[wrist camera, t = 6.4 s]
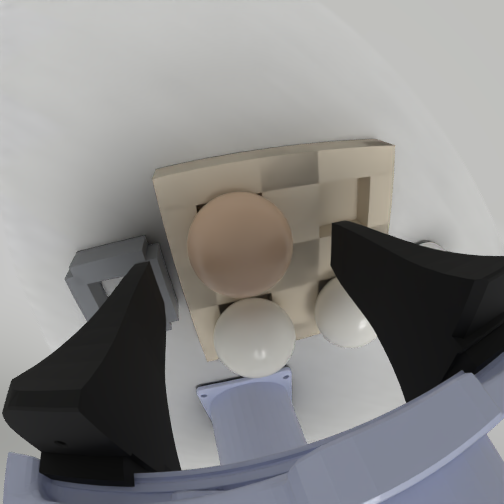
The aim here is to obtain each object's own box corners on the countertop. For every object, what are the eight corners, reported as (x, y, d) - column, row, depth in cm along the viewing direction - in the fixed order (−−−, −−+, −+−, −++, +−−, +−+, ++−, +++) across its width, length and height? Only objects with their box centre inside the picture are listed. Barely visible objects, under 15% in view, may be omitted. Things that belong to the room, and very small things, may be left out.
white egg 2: (361, 305, 19) (393, 348, 16) (303, 322, 19) (329, 373, 15) (368, 252, 17) (410, 294, 13) (303, 268, 16) (337, 319, 13)
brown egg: (272, 173, 13) (310, 206, 10) (277, 253, 16) (308, 306, 12) (177, 188, 13) (177, 230, 9) (194, 270, 15) (202, 330, 11)
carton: (361, 300, 21) (373, 315, 19) (204, 341, 19) (207, 361, 18) (375, 138, 15) (394, 145, 13) (155, 169, 13) (152, 178, 12)
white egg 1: (283, 327, 19) (306, 380, 15) (216, 343, 18) (228, 400, 14) (279, 273, 16) (308, 328, 13) (201, 291, 16) (211, 352, 12)
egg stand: (180, 309, 17) (181, 327, 16) (103, 324, 17) (99, 341, 15) (155, 232, 15) (153, 247, 13) (68, 254, 14) (60, 269, 13)
